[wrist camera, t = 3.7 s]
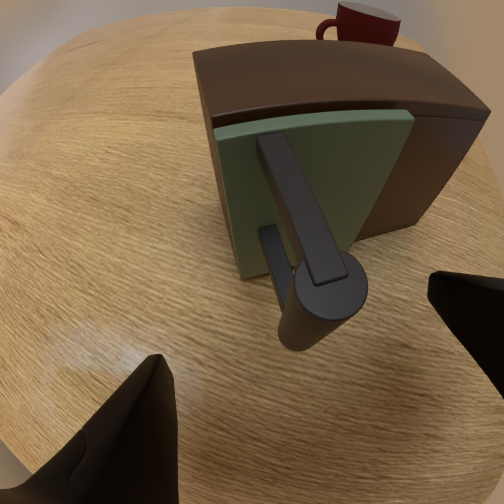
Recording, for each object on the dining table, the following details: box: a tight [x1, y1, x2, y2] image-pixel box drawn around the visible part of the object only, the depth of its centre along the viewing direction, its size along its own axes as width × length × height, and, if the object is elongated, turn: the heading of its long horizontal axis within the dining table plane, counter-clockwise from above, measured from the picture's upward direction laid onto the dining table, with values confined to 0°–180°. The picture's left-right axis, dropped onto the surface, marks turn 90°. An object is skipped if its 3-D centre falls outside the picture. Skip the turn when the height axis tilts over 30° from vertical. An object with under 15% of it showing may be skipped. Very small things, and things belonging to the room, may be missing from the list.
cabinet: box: [192, 40, 491, 271], centre depth 14 cm, size 6×14×12 cm, turn 105°
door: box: [213, 110, 415, 352], centre depth 11 cm, size 6×7×11 cm
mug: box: [316, 2, 401, 47], centre depth 26 cm, size 10×8×10 cm
